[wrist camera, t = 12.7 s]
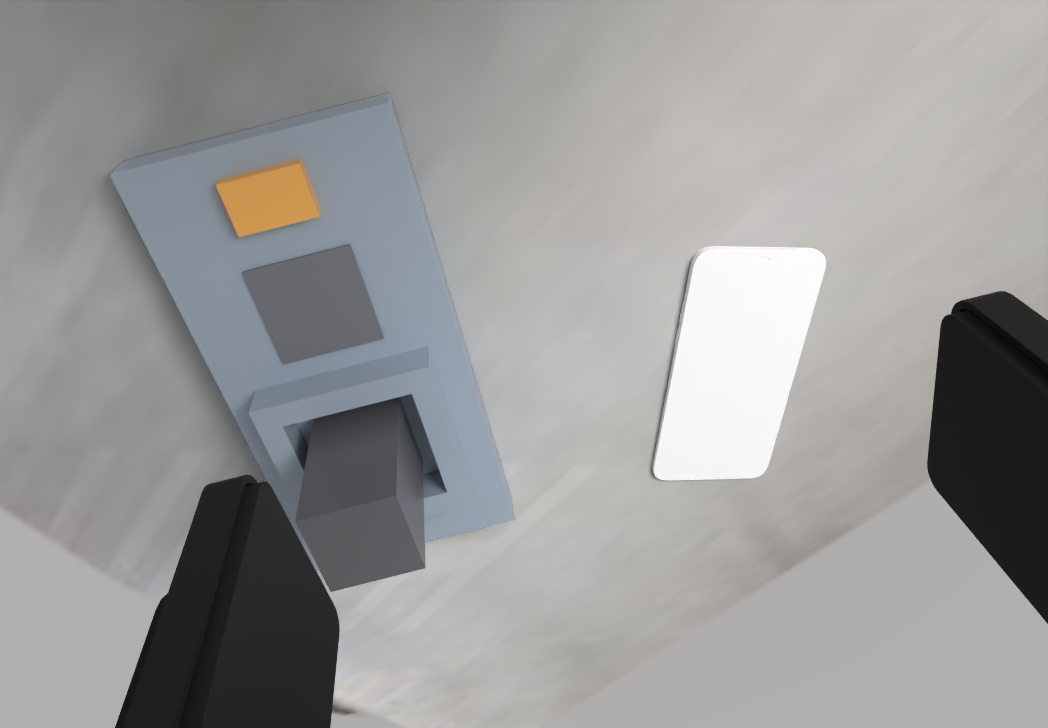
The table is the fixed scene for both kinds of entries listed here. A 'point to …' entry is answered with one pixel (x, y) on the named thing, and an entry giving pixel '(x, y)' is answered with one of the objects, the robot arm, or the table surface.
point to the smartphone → (735, 359)
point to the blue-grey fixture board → (320, 296)
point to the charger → (363, 495)
